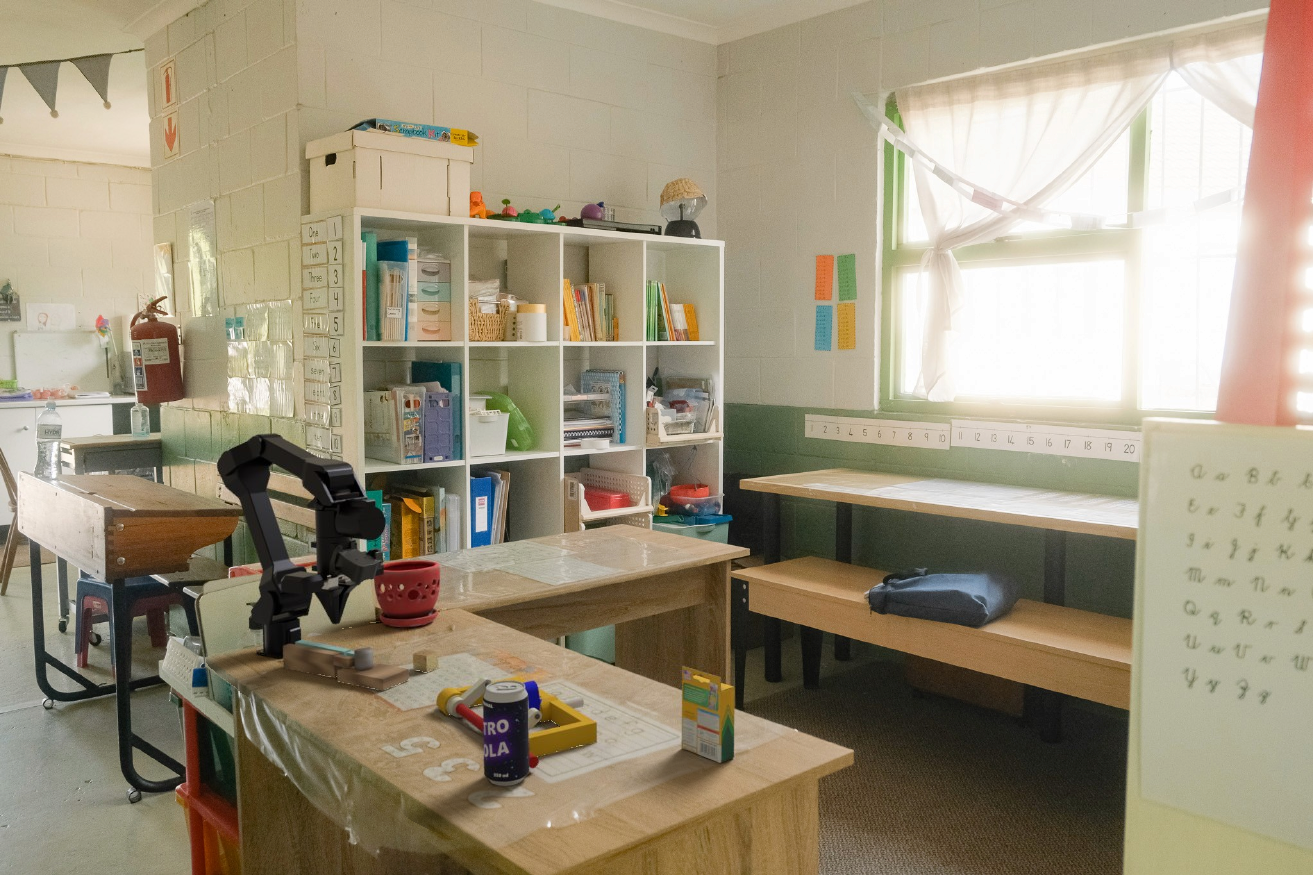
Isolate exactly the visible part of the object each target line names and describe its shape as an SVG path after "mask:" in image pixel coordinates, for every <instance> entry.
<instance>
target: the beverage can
mask: <svg viewBox="0 0 1313 875" xmlns="http://www.w3.org/2000/svg"><path fill="white" fill-rule="evenodd" d="M482 712H483V713H482V718H483V732H482V733H483V734H482V735H483V776H484V777H485V778H487V779H488V780H489V782H491V784H493V785H495V786H499V787H500V786H501V787H508V786H513V785H517V784H519V783H521V782H523V780H524V779H525V777H526V776H528V774H529V773H530V767H529V734H530V730H529V704H528V693H527V691H526V690H525V684H523V683H522V682H519V681H511V680H506V681H498V682H493V683H491V684H489V685H487V687H486V692H485V694H484V696H483V705H482Z"/></svg>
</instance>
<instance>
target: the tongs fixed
mask: <svg viewBox="0 0 1313 875" xmlns="http://www.w3.org/2000/svg"><path fill="white" fill-rule="evenodd" d="M353 651H354V657H350V656H345V655H341V653H339V652H334V651H328V650H323V649H317V648H311V647H306V646H300V645H295V644H287V645H284V646H283V657H282V658H283V660H282V661H283V669H284V670H289V669H291V670H290V671H294V670H297V671H296V672H299V671H302V672H301V673H305V672H309V673H308V674H310V673H313V674H312V675H315V674H321V675H325V676H331V677H336V676H337V682H338V681H340V682H344V683H350V684H353V685H352V686H354V685H359V686H364V687H369V688H375V689H378V690H377V691H379V690H385V689H387V688H390V687H391V686H395V685H398V684H399V683H402V682H404V681H407V680H408V679H409V680H410V672H409V670H410V669H409V668H404V667H400V666H393V665H388V664H385V663H383V664H382V663H377V662H374V649H373V648H371V647H362V648H356V649H354V650H353ZM341 667H345V668H343V669H341ZM325 676H324V677H325ZM407 682H408V681H407ZM344 683H343V684H344ZM402 684H403V683H402ZM359 686H358V687H359ZM398 686H399V685H398ZM364 687H363V688H364ZM395 687H396V686H395ZM369 688H368V689H369ZM390 689H391V688H390Z"/></svg>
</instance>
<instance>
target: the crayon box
mask: <svg viewBox="0 0 1313 875" xmlns="http://www.w3.org/2000/svg"><path fill="white" fill-rule="evenodd" d="M681 670H682V671H681V675H682V676H681V749H682V750H684V751H688V752H691V753H693V754H695V755H696V754H697V755H699V756H701V757H704V758H707V759H709V760H711V761H714V762H716V763H718V764H721V763H725V762H727V761H729V760H732V759H733V758H735V693H736V692H735V689H736V688H735V686H733V685H731V684H726V683H723V682H722V677H721V676H718V675H714V674H710V673H708V672H704V671H702V670H697V669H696V668H695V669H694V668H692V667H688V666H685V665H682V666H681ZM700 675H701V676H700Z"/></svg>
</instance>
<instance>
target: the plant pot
mask: <svg viewBox="0 0 1313 875" xmlns="http://www.w3.org/2000/svg"><path fill="white" fill-rule="evenodd" d="M383 564H384V574H383V575H379V576H375V577H374V579H373V581H374V582H373V584H374V585H373V586H374V591H375V595H376V599H377V602H378V605H379V607H380V609H381V611H382V612H381V613H380V614H379V620H380V621H381V622H382V623H383V624H385V625H386V626H389V627H395V628H396V627H397V628H412V627H420V626H426V625H427V624H430V623H431V622H433V621H434V620H435V619H436V618H437V617H438V616H439V610H438V609H436V608H434V607H435V605H436V603H437V601H438V597H439V593H440V584H441V570H440V569H441V567H440V563H439V562H437V561H433V560H404V561H403V560H401V561H394V562H393V561H392V562H388V563H383ZM382 585H383V587H384V590H382ZM401 585H403V588H402V589H401V587H400V586H401Z"/></svg>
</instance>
